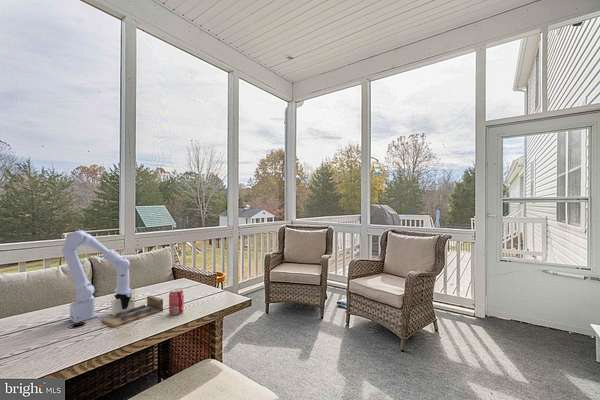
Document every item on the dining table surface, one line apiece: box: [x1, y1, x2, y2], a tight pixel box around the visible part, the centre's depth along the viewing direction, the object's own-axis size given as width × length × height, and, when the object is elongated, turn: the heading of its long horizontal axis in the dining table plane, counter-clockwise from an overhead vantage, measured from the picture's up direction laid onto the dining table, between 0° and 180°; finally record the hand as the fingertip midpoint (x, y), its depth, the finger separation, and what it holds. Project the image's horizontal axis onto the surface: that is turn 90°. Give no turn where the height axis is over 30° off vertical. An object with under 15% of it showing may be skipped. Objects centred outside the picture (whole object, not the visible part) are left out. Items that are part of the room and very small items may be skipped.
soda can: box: [168, 288, 185, 316], centre depth 146 cm, size 7×7×12 cm
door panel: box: [110, 295, 135, 316], centre depth 148 cm, size 10×4×7 cm, turn 147°
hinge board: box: [101, 295, 164, 329], centre depth 142 cm, size 24×12×6 cm, turn 147°
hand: (123, 307), depth 148 cm, fingers closed on door panel, 3 cm apart
